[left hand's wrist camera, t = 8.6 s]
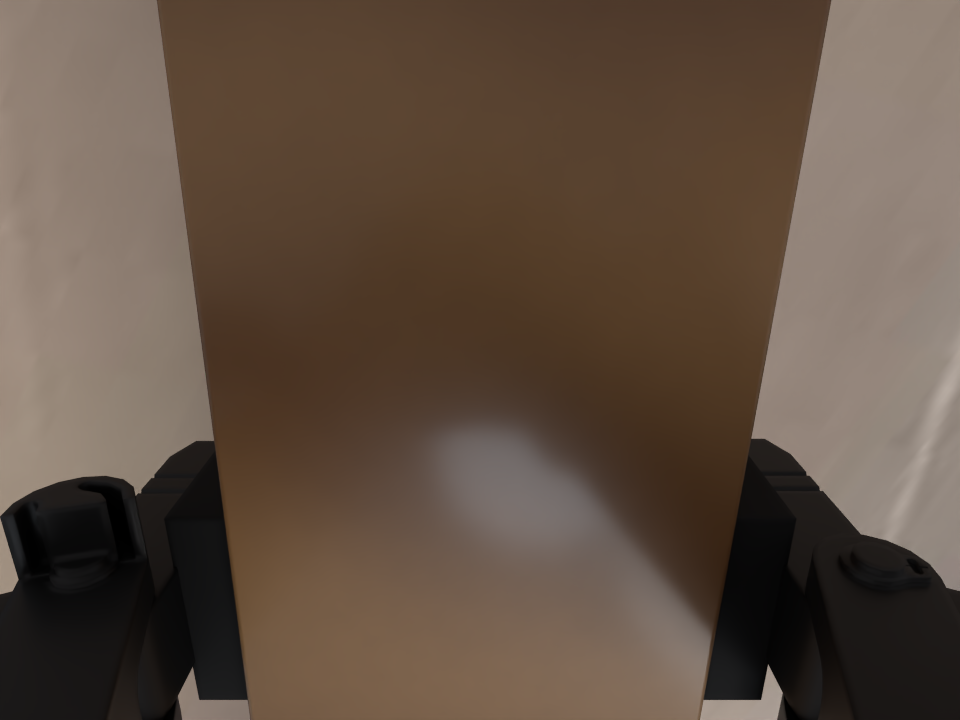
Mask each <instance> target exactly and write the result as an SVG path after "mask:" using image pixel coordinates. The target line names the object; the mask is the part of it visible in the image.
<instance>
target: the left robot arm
mask: <svg viewBox="0 0 960 720" xmlns="http://www.w3.org/2000/svg"><path fill="white" fill-rule="evenodd" d="M0 518H1V522H2V525H3V528H4V532H5V535H6V538H7V542H8V545H9V548H10V552H11V555H12V559H13V562H14V565H15V569H16V572H17V575H18V579H19V580H18V582H17V584H16V586H15V588H14V590H13V591H12V592H8V593H4V594H0V720H182V716H181V709H180V705H179V700H178V695H179V693H180V691H181V689H182V687H183V685H184V683H185V681H186V679H187V677H188V675H189V673H190V671H191V669H192V667H193V669H194V675H195V680H196V685H197V690H198V695H199V700H248V696H247V689H246V681H245V673H244V666H243V658H242V650H241V643H240V635H239V627H238V619H237V612H236V604H235V596H234V589H233V581H232V573H231V566H230V558H229V550H228V543H227V535H226V527H225V519H224V512H223V504H222V496H221V489H220V481H219V473H218V466H217V458H216V450H215V442H214V441H196V442H194V443H192V444H191V445H189V446H187V447H185V448H184V449H182V450H180V451H179V452H177V453H175V454H174V455H172V456H170V457H169V459H168V460H167V461H166V462H165V463H164V464H163V465H162V467H161V468H160V469H159V470H158V471H157V472H156V474H155V477H154V478H151V479H150V480H149V482H148V483H147V484H146V485H145V486H144V487H143V489H142V492H141V494H137V495H136V496H135V491H134V487H133V486H132V485H130V484H129V483H128V482H126V481H125V480H124V479H119V478H114V477H109V476H95V477H81V478H76V479H72V480H67V481H62V482H58V483H55V484H52V485H50V486H47V487H44V488H42V489H39V490H36V491H34V492H32V493H30V494H28V495H27V496H25V497H23V498H22V499H20V500H18V501H16V502H15V503H13V504H12V505H11V506H10V507H9V508H8V509H7V510H6V511H5V512H4V513H3V514H2V515H1V516H0ZM768 665H769V666H770V668H771V670H772V672H773V674H774V676H775V678H776V680H777V682H778V684H779V686H780V688H781V690H782V692H783V695H782V700H781V705H780V709H779V714H778V719H777V720H960V591H957V590H953V589H949V588H946V586H945V585H944V583H943V581H942V579H941V578H940V576H939V575H938V574H937V573H936V571H935V570H934V569H933V568H932V567H931V565H930V564H929V563H927V562H926V561H924V560H923V559H921V558H920V557H918V556H917V555H916V554H914V553H913V552H911V551H909V550H907V549H905V548H903V547H900V546H898V545H896V544H893V543H891V542H889V541H886V540H882V539H878V538H874V537H870V536H866V535H861V534H860V533H859V532H858V531H857V530H856V528H855V527H854V526H853V525H852V524H851V523H850V522H849V520H848V519H847V518H846V517H845V516H844V515H843V514H842V512H841V511H840V510H839V509H838V508H837V507H836V506H835V504H834V503H833V502H832V501H831V500H830V499H829V498H828V496H827V495H826V494H825V493H824V492H823V491H820V490H819V486H818V485H817V484H816V483H815V482H814V480H813V479H812V478H811V477H810V476H807V475H806V471H805V470H804V469H803V468H802V467H801V466H800V464H799V463H798V462H797V461H796V460H795V459H794V458H793V456H792V455H791V454H789V453H788V452H786V451H784V450H783V449H781V448H779V447H777V446H776V445H774V444H772V443H771V442H769V441H767V440H766V439H751V442H750V448H749V453H748V459H747V464H746V470H745V475H744V480H743V486H742V491H741V497H740V502H739V508H738V513H737V519H736V524H735V530H734V535H733V541H732V546H731V552H730V557H729V563H728V568H727V574H726V579H725V584H724V590H723V595H722V601H721V606H720V612H719V617H718V623H717V628H716V634H715V639H714V645H713V650H712V656H711V661H710V667H709V672H708V678H707V683H706V689H705V694H704V699H703V700H761V697H762V692H763V687H764V682H765V677H766V672H767V667H768Z"/></svg>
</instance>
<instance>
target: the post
mask: <svg viewBox="0 0 960 720" xmlns="http://www.w3.org/2000/svg"><path fill="white" fill-rule="evenodd" d="M157 4H158V11H159V19H160V27H161V34H162V42H163V50H164V58H165V65H166V73H167V81H168V88H169V96H170V104H171V111H172V119H173V127H174V134H175V142H176V150H177V158H178V165H179V173H180V181H181V188H182V196H183V204H184V211H185V219H186V227H187V235H188V242H189V250H190V258H191V265H192V273H193V281H194V288H195V296H196V304H197V312H198V319H199V327H200V335H201V342H202V350H203V358H204V365H205V373H206V381H207V389H208V396H209V404H210V412H211V419H212V427H213V435H214V442H215V450H216V458H217V466H218V473H219V481H220V489H221V496H222V504H223V512H224V519H225V527H226V535H227V543H228V550H229V558H230V566H231V573H232V581H233V589H234V596H235V604H236V612H237V619H238V627H239V635H240V643H241V650H242V658H243V666H244V673H245V681H246V689H247V696H248V704H249V712H250V720H700V716H701V710H702V705H703V699H704V694H705V689H706V683H707V678H708V672H709V667H710V661H711V656H712V650H713V645H714V639H715V634H716V628H717V623H718V617H719V612H720V606H721V601H722V595H723V590H724V584H725V579H726V574H727V568H728V563H729V557H730V552H731V546H732V541H733V535H734V530H735V524H736V519H737V513H738V508H739V502H740V497H741V491H742V486H743V480H744V475H745V470H746V464H747V459H748V453H749V448H750V442H751V437H752V431H753V426H754V420H755V415H756V409H757V404H758V398H759V393H760V387H761V382H762V376H763V371H764V366H765V360H766V355H767V349H768V344H769V338H770V333H771V327H772V322H773V316H774V311H775V305H776V300H777V294H778V289H779V283H780V278H781V272H782V267H783V261H784V256H785V251H786V245H787V240H788V234H789V229H790V223H791V218H792V212H793V207H794V201H795V196H796V190H797V185H798V179H799V174H800V168H801V163H802V157H803V152H804V147H805V141H806V136H807V130H808V125H809V119H810V114H811V108H812V103H813V97H814V92H815V86H816V81H817V75H818V70H819V64H820V59H821V53H822V48H823V43H824V37H825V32H826V26H827V21H828V15H829V10H830V4H831V0H157Z"/></svg>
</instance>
